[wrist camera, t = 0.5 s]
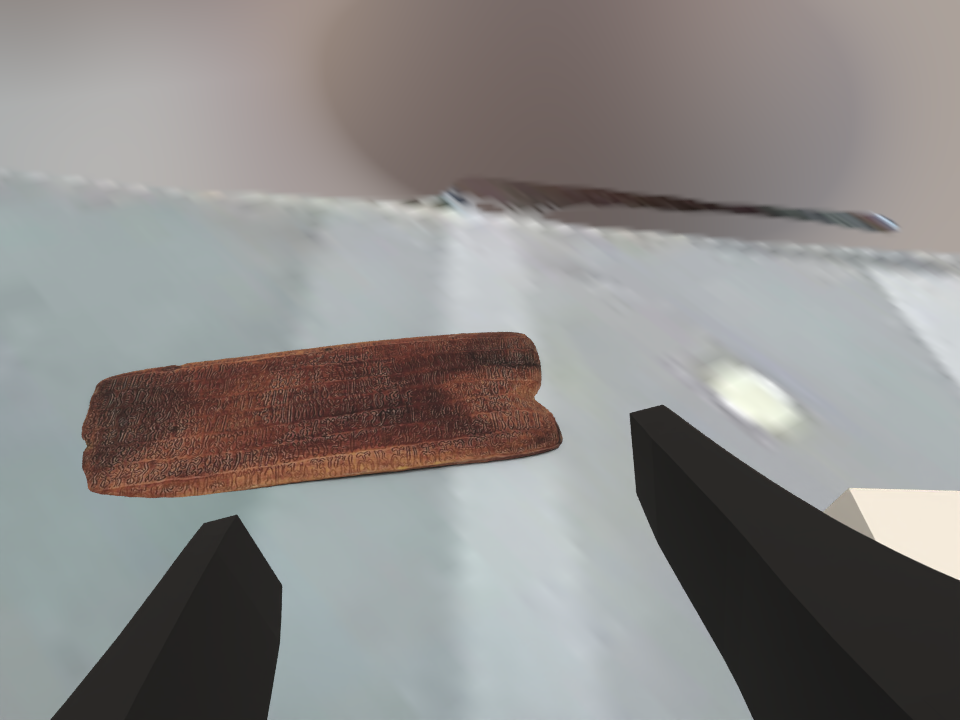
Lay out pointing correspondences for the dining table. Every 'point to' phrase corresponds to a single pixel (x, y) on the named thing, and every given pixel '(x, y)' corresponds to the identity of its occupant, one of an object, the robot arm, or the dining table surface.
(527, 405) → the wooden tablet
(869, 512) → the cream toy bench
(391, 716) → the dining table surface
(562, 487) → the dining table surface
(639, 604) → the dining table surface
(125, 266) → the dining table surface
